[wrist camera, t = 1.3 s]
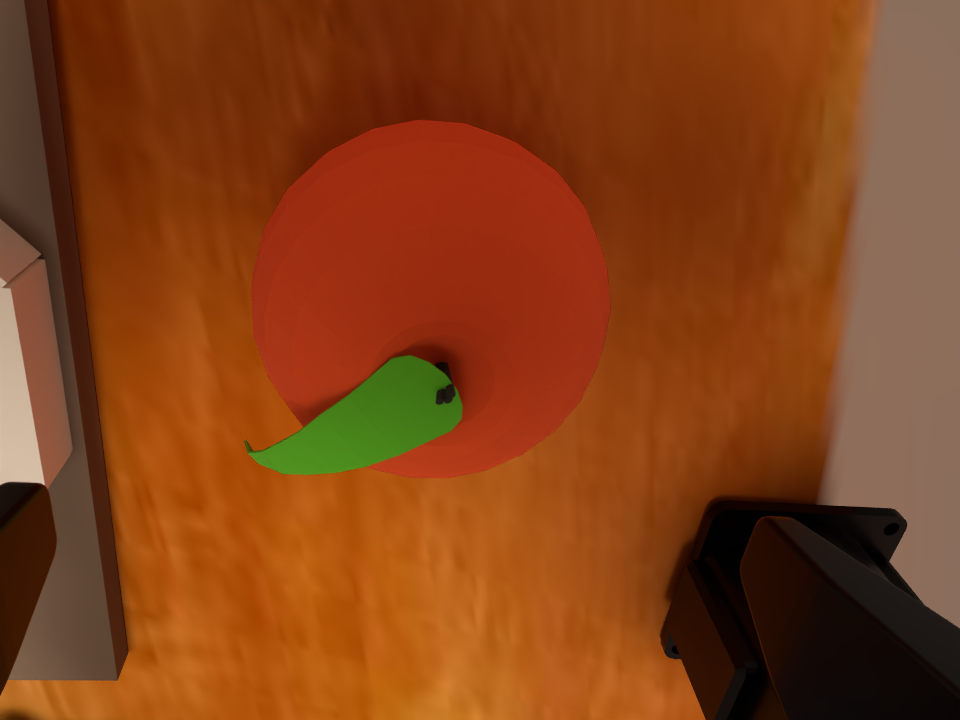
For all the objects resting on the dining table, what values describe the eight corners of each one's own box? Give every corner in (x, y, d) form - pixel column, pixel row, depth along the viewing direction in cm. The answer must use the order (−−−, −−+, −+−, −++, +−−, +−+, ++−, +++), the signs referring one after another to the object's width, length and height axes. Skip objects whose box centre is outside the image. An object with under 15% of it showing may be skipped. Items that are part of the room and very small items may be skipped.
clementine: (361, 432, 20) (345, 647, 14) (178, 230, 17) (49, 391, 11) (618, 277, 18) (730, 438, 12) (470, 23, 15) (520, 68, 9)
